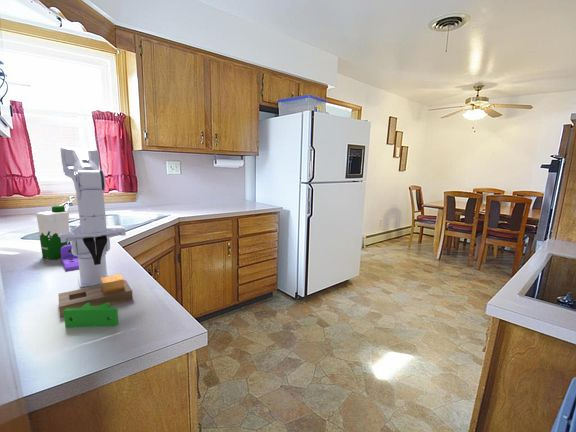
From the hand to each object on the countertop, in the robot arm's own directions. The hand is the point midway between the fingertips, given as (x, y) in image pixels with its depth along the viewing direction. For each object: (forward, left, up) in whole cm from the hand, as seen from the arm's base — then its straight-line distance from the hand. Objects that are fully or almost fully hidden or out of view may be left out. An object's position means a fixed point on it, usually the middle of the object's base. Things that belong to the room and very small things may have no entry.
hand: (97, 263), depth 79 cm
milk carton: (-53, -9, -11) cm, 55 cm away
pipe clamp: (+14, -2, -11) cm, 18 cm away
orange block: (+2, +3, -10) cm, 11 cm away
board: (+2, -1, -10) cm, 11 cm away
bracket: (-37, -4, -11) cm, 39 cm away
